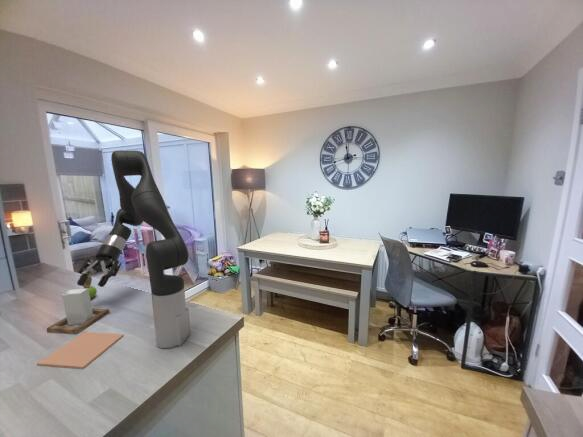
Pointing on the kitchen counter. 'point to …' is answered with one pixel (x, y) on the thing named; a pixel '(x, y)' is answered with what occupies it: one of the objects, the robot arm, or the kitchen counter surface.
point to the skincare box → (77, 306)
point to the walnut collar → (60, 328)
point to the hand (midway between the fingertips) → (90, 285)
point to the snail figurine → (90, 287)
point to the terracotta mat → (81, 350)
